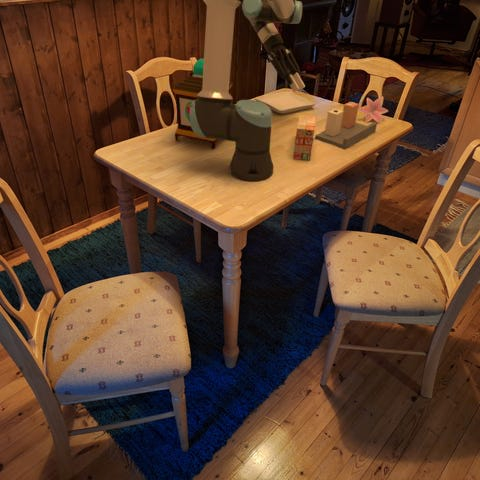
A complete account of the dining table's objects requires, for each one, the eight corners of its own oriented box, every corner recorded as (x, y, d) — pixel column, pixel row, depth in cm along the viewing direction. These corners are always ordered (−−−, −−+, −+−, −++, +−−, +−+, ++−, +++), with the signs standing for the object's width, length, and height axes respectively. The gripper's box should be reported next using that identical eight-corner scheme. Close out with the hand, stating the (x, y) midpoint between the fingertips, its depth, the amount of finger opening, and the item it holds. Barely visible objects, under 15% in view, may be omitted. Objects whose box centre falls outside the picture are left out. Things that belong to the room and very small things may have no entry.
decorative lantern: (237, 133, 171) (239, 55, 153) (215, 152, 157) (214, 69, 139) (194, 124, 178) (191, 49, 160) (170, 142, 163) (163, 61, 145)
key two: (348, 128, 174) (352, 106, 168) (340, 125, 176) (344, 103, 170) (354, 125, 177) (359, 103, 171) (346, 122, 179) (350, 100, 173)
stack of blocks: (297, 136, 170) (300, 107, 163) (312, 138, 170) (316, 108, 162) (293, 159, 154) (296, 127, 146) (310, 161, 153) (314, 129, 145)
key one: (333, 136, 167) (336, 113, 161) (324, 133, 169) (328, 111, 163) (339, 133, 170) (343, 110, 164) (331, 130, 172) (335, 108, 166)
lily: (351, 121, 188) (358, 106, 179) (363, 104, 192) (370, 89, 183) (375, 134, 186) (383, 120, 177) (386, 117, 190) (394, 102, 181)
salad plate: (287, 96, 210) (288, 90, 208) (315, 109, 196) (316, 102, 194) (253, 104, 201) (253, 97, 199) (280, 118, 187) (280, 110, 185)
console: (345, 149, 161) (346, 139, 159) (315, 138, 169) (316, 129, 166) (375, 132, 176) (377, 122, 173) (346, 122, 183) (347, 114, 181)
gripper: (277, 41, 177) (305, 90, 179) (252, 47, 168) (281, 99, 169) (288, 29, 171) (317, 80, 173) (263, 35, 162) (293, 88, 163)
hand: (299, 89), depth 171 cm, fingers open, 3 cm apart
